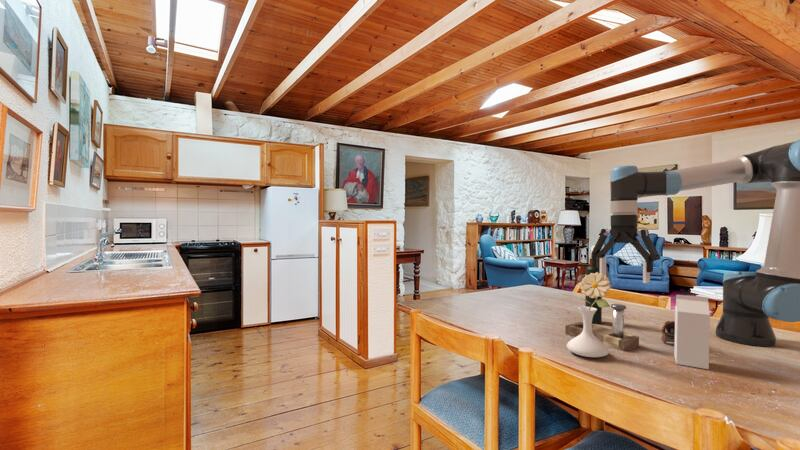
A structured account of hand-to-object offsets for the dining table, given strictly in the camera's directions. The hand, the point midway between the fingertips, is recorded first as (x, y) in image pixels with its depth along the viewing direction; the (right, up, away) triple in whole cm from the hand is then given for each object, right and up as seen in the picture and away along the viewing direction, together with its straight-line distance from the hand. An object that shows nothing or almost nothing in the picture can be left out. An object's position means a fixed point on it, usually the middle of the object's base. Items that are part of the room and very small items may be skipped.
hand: (623, 279), depth 123 cm
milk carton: (+10, -21, -16) cm, 28 cm away
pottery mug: (+18, -21, +2) cm, 28 cm away
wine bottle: (+3, -21, +26) cm, 34 cm away
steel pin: (-2, -21, -1) cm, 21 cm away
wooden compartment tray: (-5, -21, +4) cm, 22 cm away
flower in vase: (-16, -21, -10) cm, 28 cm away
